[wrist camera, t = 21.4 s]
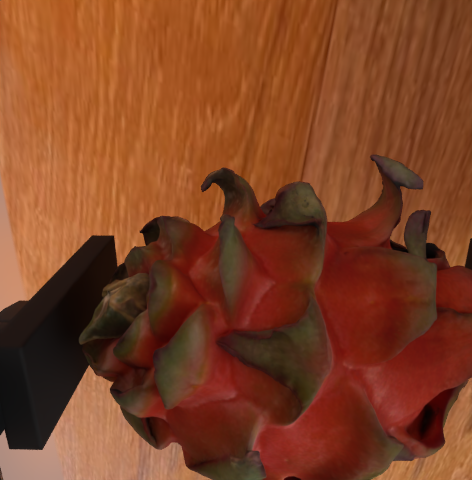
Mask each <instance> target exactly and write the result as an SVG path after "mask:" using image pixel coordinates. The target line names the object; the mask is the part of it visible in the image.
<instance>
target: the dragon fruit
mask: <svg viewBox="0 0 472 480" xmlns="http://www.w3.org/2000/svg"><path fill="white" fill-rule="evenodd" d="M370 158H371V160H372V161H375V163H376V165H377V167H378V170H379V172H380V174H381V176H382V180H383V181H382V184H383V190H382V194H381V196H380V197H379V199H378V201H377V202H376V203H375V204H374V205H373V206H372V207H371V208H369V209H368V210H366V211H364V212H362V213H361V214H359V215H358V216H356V217H355V218H353V219H351V220H349V221H346V222H327V216H326V212H325V209H324V207H323V205H322V203H321V201H320V199H319V198H318V197H317V196H316V194H315V192H314V190H313V188H312V186H311V185H310V184H309V183H305V182H293V183H290V184H287V185H285V186H284V187H282V188H280V189H279V190H278V192H277V194H276V197H275V198H274V199H271V200H269V201H267V202H266V203H264V204H263V205H262V206H261V207H260V206H259V204H258V202H257V199H256V197H255V194H254V191H253V189H252V188H251V186H250V185H249V183H248V182H247V181H246V180H245V179H243V178H242V177H240V176H239V175H237V174H235V173H234V171H232V170H230V169H227V168H221V169H220V170H217V171H214V172H212V173H210V174H209V175H208V176H207V177H206V179H205V181H204V182H203V184H202V185H201V190H202V192H204V191H206V190H207V189H208V188H209V187H210V186H211V184H212V183H216V184H217V185H219V187H220V188H221V189H222V190H223V191H224V196H225V204H224V211H223V215H222V216H221V218H220V220H221V221H220V222H218V223H217V224H216V225H215V226H213V227H212V228H210V229H208V230H206V231H203V230H202V229H201V228H199V227H198V226H196V225H195V224H192V223H190V222H189V221H188V220H186V219H184V218H181V217H170V216H160V217H157V218H154V219H153V220H152V221H150V222H149V223H147V224H146V225H145V226H144V227H143V229H142V230H141V231H140V233H143V235H144V240H145V244H146V246H142V247H136V246H135V247H134V248H133V249H132V250H131V251H130V253H129V254H128V255H127V257H126V259H125V262H124V263H122V264H121V265H119V266H118V268H117V269H116V270H115V273H114V274H113V276H112V277H111V280H110V282H109V284H108V285H107V286H106V287H104V289H103V292H102V297H103V299H102V301H101V302H100V304H99V305H98V307H97V308H96V309H95V311H94V314H93V318H92V320H91V322H90V323H89V325H88V326H87V327H86V328H85V329H83V332H82V333H81V335H80V337H79V343H80V345H82V344H83V348H82V351H83V353H84V355H85V356H86V358H87V361H88V363H89V365H90V367H91V368H92V369H93V370H94V373H95V374H96V375H98V376H102V377H103V378H105V379H107V380H109V381H111V382H114V383H113V384H112V386H111V388H110V393H111V394H112V396H113V398H114V399H115V401H116V402H117V403H118V404H119V405H120V408H121V410H122V413H123V415H124V417H125V419H126V420H127V421H128V423H129V424H130V425H131V426H132V427H133V428H134V430H135V431H136V432H137V433H138V434H139V435H140V436H141V437H142V438H143V439H144V440H145V441H146V442H148V443H149V444H150V445H152V446H153V447H154V448H155V449H159V450H162V449H164V448H166V447H167V446H168V445H169V444H170V443H171V442H176V443H178V444H180V445H181V446H182V450H183V454H184V459H185V464H186V466H187V467H188V468H189V469H190V470H192V471H195V472H197V473H199V474H201V475H203V476H206V477H208V478H210V479H212V480H371V479H373V478H375V477H377V476H379V475H381V474H382V473H384V472H385V471H386V470H387V469H388V468H389V465H390V464H391V462H392V461H412V460H414V459H417V458H425V457H428V456H431V455H433V454H434V453H436V452H437V451H438V450H440V449H441V448H442V447H443V446H444V444H445V439H444V434H443V427H444V425H445V422H446V419H447V416H448V413H449V411H450V409H451V407H452V406H453V404H454V402H455V401H456V400H457V398H458V395H459V392H460V390H461V389H462V388H463V387H465V386H466V384H467V382H468V379H470V378H471V377H472V270H470V269H468V268H466V267H464V266H454V267H451V268H450V266H449V263H448V261H447V259H446V256H445V252H444V251H442V250H440V249H439V248H438V247H437V246H436V245H435V244H433V243H426V240H427V231H428V226H429V220H430V215H431V211H425V210H420V211H419V210H418V211H415V212H414V213H412V214H411V215H410V216H409V218H408V221H407V223H406V226H405V232H404V241H405V244H406V247H407V249H406V247H404V246H402V245H400V244H398V243H395V242H393V241H392V240H390V236H391V234H392V231H393V229H394V228H395V227H396V226H397V225H398V224H399V222H400V220H401V217H400V216H401V213H402V206H403V202H402V193H401V189H400V186H404V187H406V188H408V189H423V180H422V179H421V178H420V177H419V176H418V175H417V174H415V173H414V172H413V171H411V170H410V169H408V168H407V167H405V166H404V165H403V164H402V163H400V162H398V161H395V160H392V159H390V158H387V157H384V156H379V155H371V156H370ZM463 389H464V388H463Z"/></svg>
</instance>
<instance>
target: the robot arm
mask: <svg viewBox="0 0 472 480" xmlns="http://www.w3.org/2000/svg"><path fill="white" fill-rule="evenodd" d="M465 267H466V268H468V269H470V270H472V238H471V239H470V244H469V249H468V254H467V259H466V264H465ZM117 268H118V267H117V258H116V249H115V240H114V236H94V235H92V236H91V237H90V238H89V239H88V240H87V241H86V242H85V243H84V244H83V246H82V247H81V248H80V249H79V250H78V251H77V252H76V253H75V254H74V255H73V256H72V257H71V258H70V259H69V260H68V261H67V262H66V263H65V264H64V265H63V266H62V267H61V268H60V269H59V270H58V271H57V272H56V273H55V274H54V275H53V277H52V278H51V279H50V280H49V281H48V282H47V283H46V284H45V285H44V286H43V287H42V288H41V289H40V290H39V291H38V292H37V293H36V294H35V295H34V296H33V297H32V298H31V299H30V300H29V301H18V302H16V303H14V304H12V305H11V306H9V307H7V308H5V309H3V310H2V311H1V312H0V435H1V433H2V432H3V431H4V429H5V433H6V438H7V441H8V445H9V449H30V450H31V449H32V450H42V449H43V448H44V446H45V444H46V442H47V440H48V439H49V437H50V435H51V433H52V431H53V430H54V428H55V426H56V424H57V422H58V420H59V419H60V417H61V415H62V413H63V411H64V410H65V408H66V406H67V404H68V402H69V400H70V399H71V397H72V395H73V393H74V391H75V390H76V388H77V386H78V384H79V382H80V380H81V379H82V377H83V375H84V373H85V371H86V369H87V368H88V366H89V363H88V361H87V358H86V356H85V355H84V353H83V351H82V348H83V344H82V345H80V343H79V337H80V335H81V333H82V332H83V329H85V328H86V327H87V326H88V325H89V323H90V322H91V320H92V318H93V314H94V311H95V309H96V308H97V307H98V305H99V304H100V302H101V301H102V299H103V297H102V292H103V289H104V287H106V286H107V285H108V284H109V282H110V280H111V277H112V276H113V274H114V273H115V270H116V269H117ZM0 480H3V477H2V473H1V468H0Z"/></svg>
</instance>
